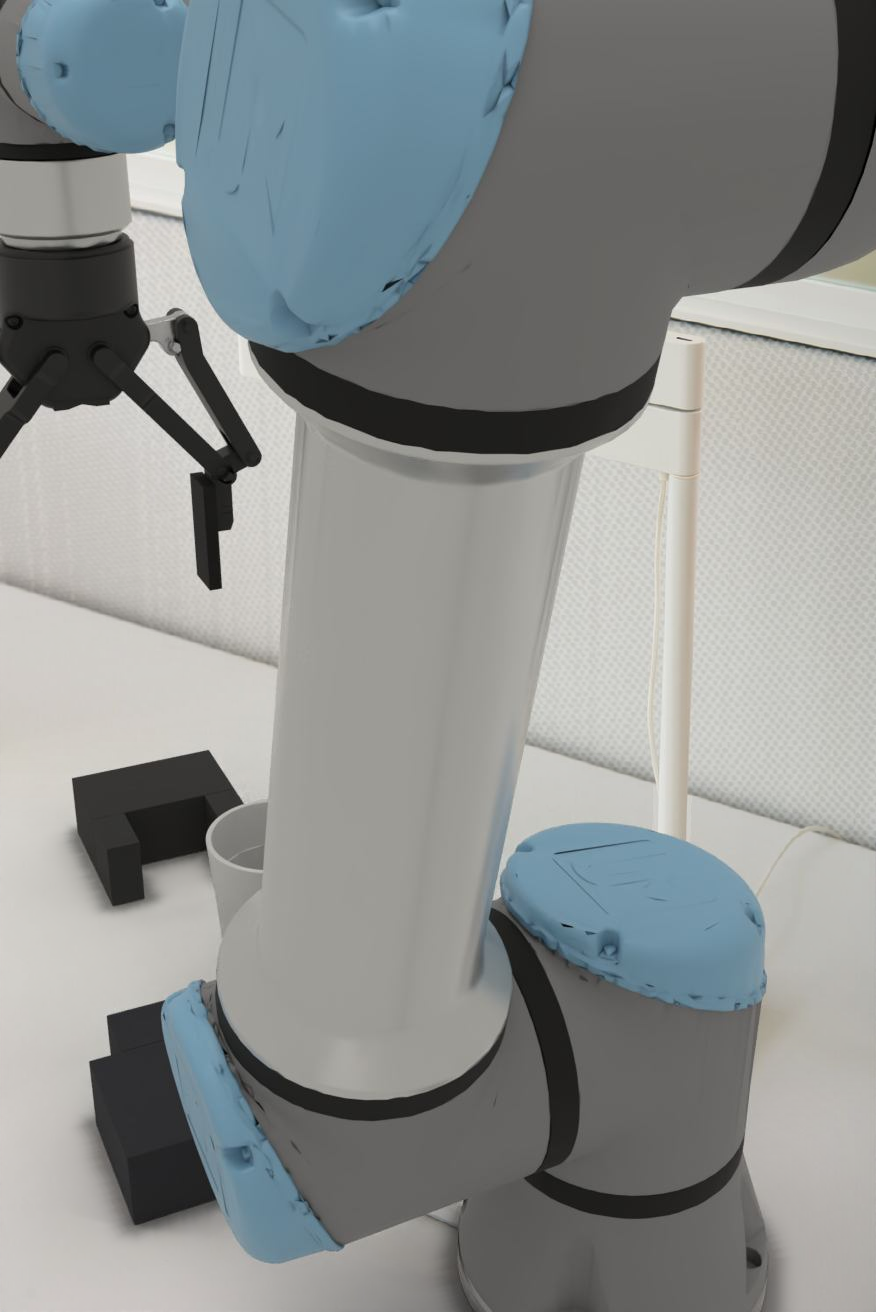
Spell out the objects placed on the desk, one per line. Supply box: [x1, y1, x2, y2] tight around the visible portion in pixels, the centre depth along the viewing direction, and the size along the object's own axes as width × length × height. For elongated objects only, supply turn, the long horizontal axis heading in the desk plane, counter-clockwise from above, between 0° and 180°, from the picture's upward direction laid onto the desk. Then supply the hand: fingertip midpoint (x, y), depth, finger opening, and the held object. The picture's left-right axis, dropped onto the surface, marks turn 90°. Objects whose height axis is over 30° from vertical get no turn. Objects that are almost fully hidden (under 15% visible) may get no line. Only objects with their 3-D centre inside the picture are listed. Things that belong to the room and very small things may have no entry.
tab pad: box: [88, 999, 217, 1225], centre depth 88 cm, size 11×8×4 cm
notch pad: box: [71, 749, 245, 907], centre depth 113 cm, size 10×10×4 cm
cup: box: [206, 798, 268, 940], centre depth 97 cm, size 8×8×12 cm
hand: (98, 601), depth 96 cm, fingers open, 13 cm apart
